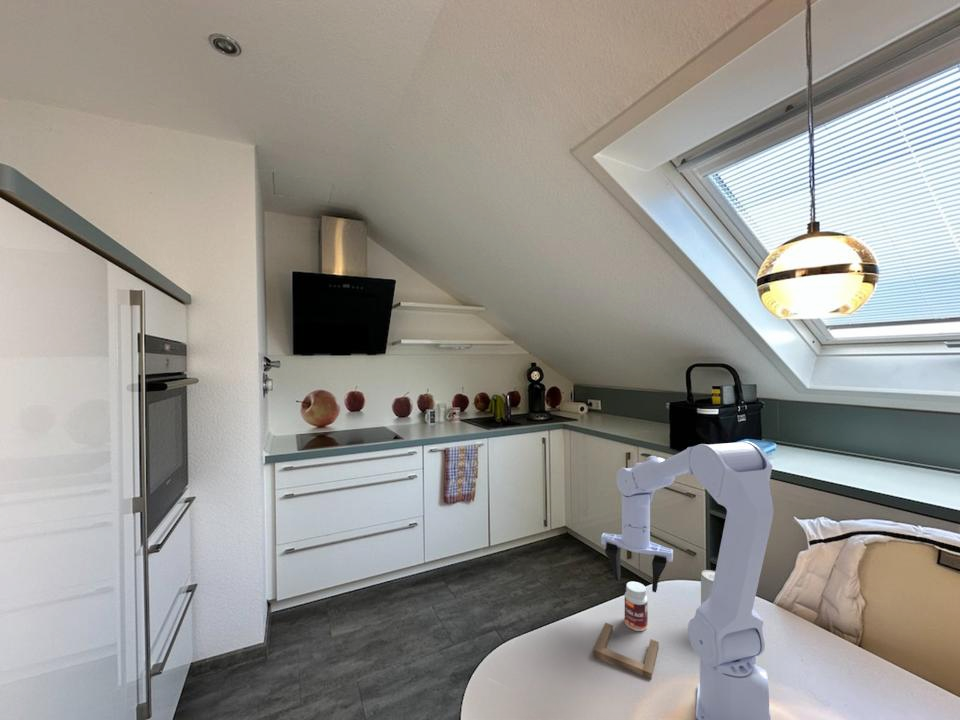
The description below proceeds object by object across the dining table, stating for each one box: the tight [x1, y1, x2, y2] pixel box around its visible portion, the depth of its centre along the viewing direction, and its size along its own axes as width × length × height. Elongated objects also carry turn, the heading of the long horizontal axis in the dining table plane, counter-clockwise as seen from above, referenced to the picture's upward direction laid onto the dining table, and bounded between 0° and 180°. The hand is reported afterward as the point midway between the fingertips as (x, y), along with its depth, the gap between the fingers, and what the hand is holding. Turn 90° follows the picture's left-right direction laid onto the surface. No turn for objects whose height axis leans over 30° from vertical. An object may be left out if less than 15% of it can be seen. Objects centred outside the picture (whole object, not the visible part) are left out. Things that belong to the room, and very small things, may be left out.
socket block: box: [592, 622, 660, 680], centre depth 76 cm, size 10×9×2 cm
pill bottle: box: [624, 580, 649, 632], centre depth 84 cm, size 5×5×8 cm
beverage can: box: [700, 569, 716, 605], centre depth 82 cm, size 5×5×12 cm
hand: (635, 584), depth 84 cm, fingers open, 7 cm apart
